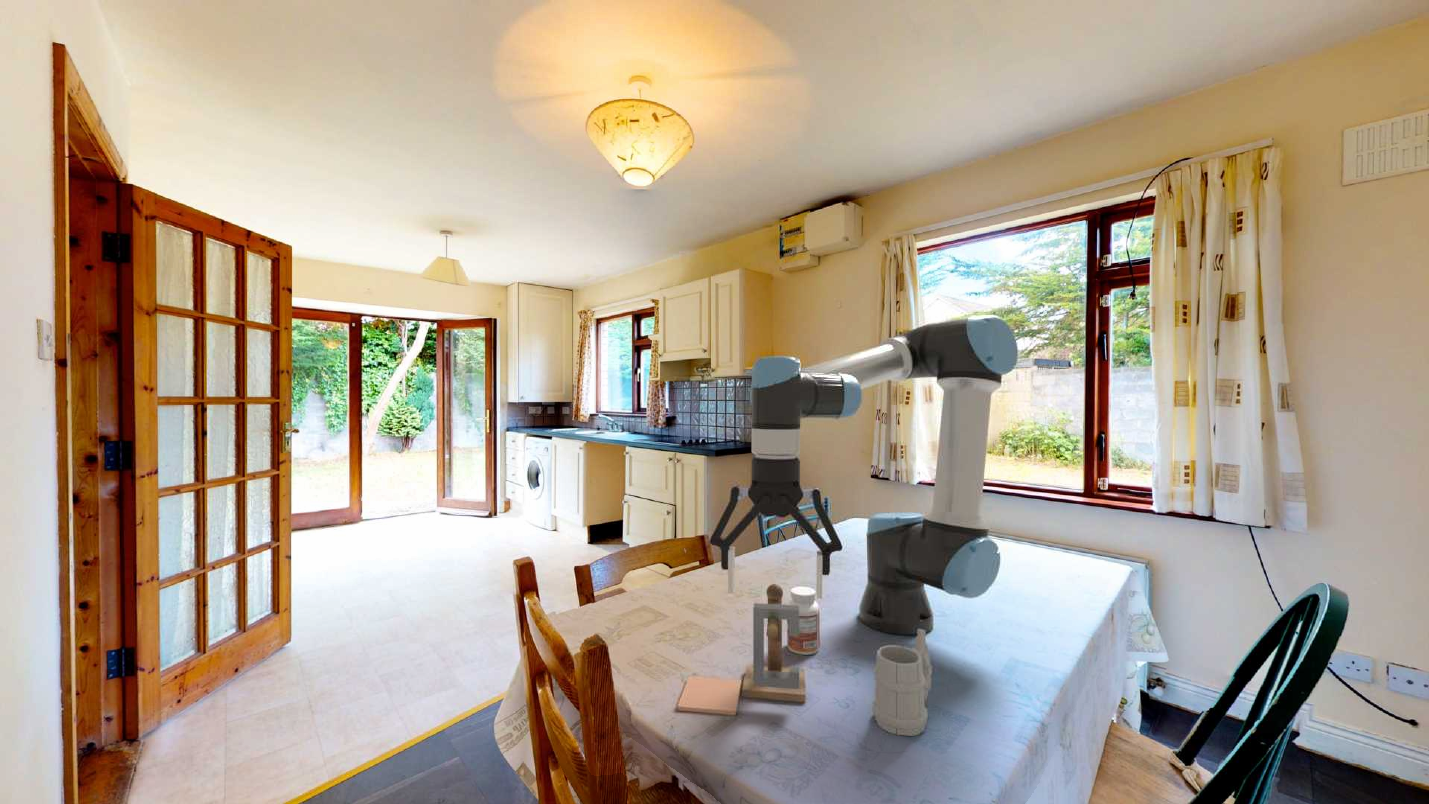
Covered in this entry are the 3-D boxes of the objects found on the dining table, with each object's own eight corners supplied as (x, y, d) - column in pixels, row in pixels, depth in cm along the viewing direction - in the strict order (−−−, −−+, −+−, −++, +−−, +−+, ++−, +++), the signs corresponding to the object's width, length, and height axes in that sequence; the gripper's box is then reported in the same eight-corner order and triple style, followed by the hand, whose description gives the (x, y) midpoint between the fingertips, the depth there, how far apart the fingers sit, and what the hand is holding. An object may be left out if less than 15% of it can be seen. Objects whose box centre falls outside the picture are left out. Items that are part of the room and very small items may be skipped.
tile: (741, 683, 87) (741, 680, 87) (735, 715, 79) (735, 711, 79) (688, 679, 89) (688, 676, 89) (677, 710, 80) (677, 706, 80)
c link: (799, 682, 82) (798, 605, 82) (799, 689, 80) (799, 610, 80) (754, 679, 83) (754, 603, 83) (753, 685, 81) (753, 608, 81)
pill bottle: (796, 638, 105) (795, 583, 105) (824, 646, 101) (824, 589, 101) (781, 650, 100) (781, 592, 100) (811, 659, 96) (811, 598, 96)
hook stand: (746, 672, 91) (746, 579, 91) (804, 676, 90) (804, 582, 90) (738, 719, 78) (738, 610, 78) (806, 725, 76) (806, 614, 76)
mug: (861, 719, 78) (861, 638, 78) (906, 692, 85) (906, 618, 85) (907, 745, 72) (907, 657, 72) (952, 714, 79) (952, 634, 79)
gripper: (855, 455, 83) (854, 589, 83) (701, 452, 87) (699, 580, 87) (861, 460, 76) (860, 607, 76) (692, 456, 80) (691, 596, 79)
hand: (774, 593), depth 81 cm, fingers open, 13 cm apart
